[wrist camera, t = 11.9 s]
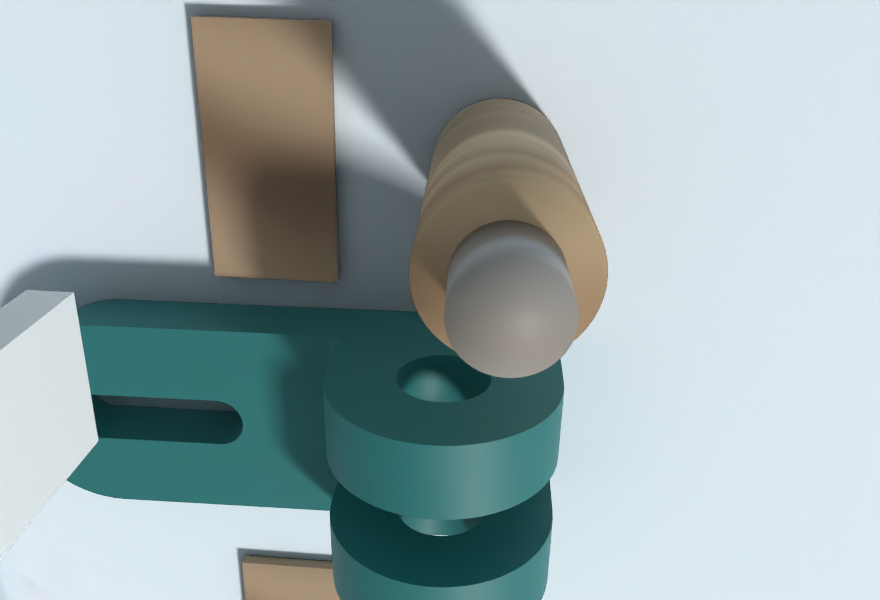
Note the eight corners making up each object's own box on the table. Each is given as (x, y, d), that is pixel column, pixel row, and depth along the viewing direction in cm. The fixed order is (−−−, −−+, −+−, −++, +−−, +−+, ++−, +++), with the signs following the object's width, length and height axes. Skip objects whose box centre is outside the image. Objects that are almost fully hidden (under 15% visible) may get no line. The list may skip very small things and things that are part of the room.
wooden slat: (195, 15, 23) (190, 16, 23) (331, 20, 23) (329, 21, 23) (258, 700, 35) (255, 708, 34) (349, 707, 34) (348, 715, 34)
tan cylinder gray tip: (437, 92, 24) (406, 201, 13) (573, 104, 24) (643, 223, 13) (427, 221, 25) (392, 404, 15) (554, 233, 25) (604, 424, 15)
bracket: (554, 315, 27) (573, 452, 19) (541, 482, 29) (553, 657, 22) (29, 293, 28) (-138, 415, 20) (64, 456, 30) (-72, 614, 23)
